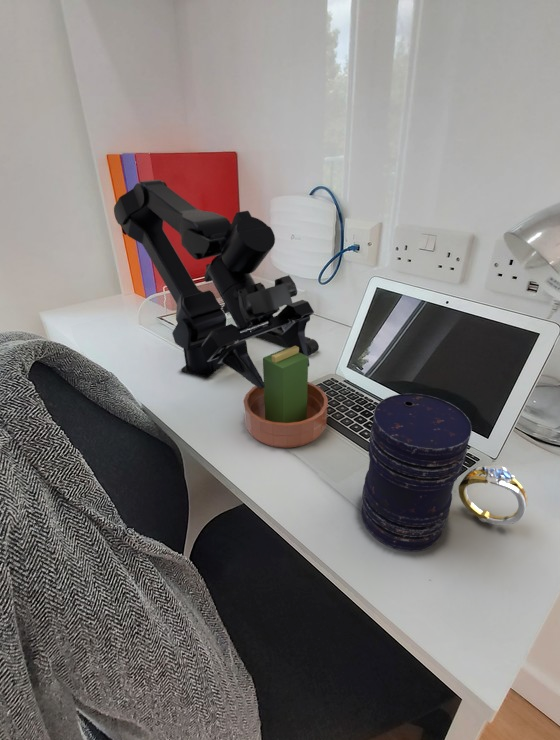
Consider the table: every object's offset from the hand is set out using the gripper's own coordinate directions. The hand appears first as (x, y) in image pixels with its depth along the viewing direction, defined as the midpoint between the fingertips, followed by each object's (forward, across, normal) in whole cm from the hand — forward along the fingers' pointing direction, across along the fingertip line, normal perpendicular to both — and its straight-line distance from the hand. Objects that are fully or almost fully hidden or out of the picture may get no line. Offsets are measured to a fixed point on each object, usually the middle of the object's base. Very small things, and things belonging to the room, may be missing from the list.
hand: (285, 377), depth 63 cm
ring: (+28, +4, -16) cm, 32 cm away
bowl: (+6, 0, +6) cm, 9 cm away
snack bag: (+6, 0, +6) cm, 8 cm away
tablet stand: (-9, +19, +22) cm, 31 cm away
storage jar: (+23, -3, -11) cm, 25 cm away
